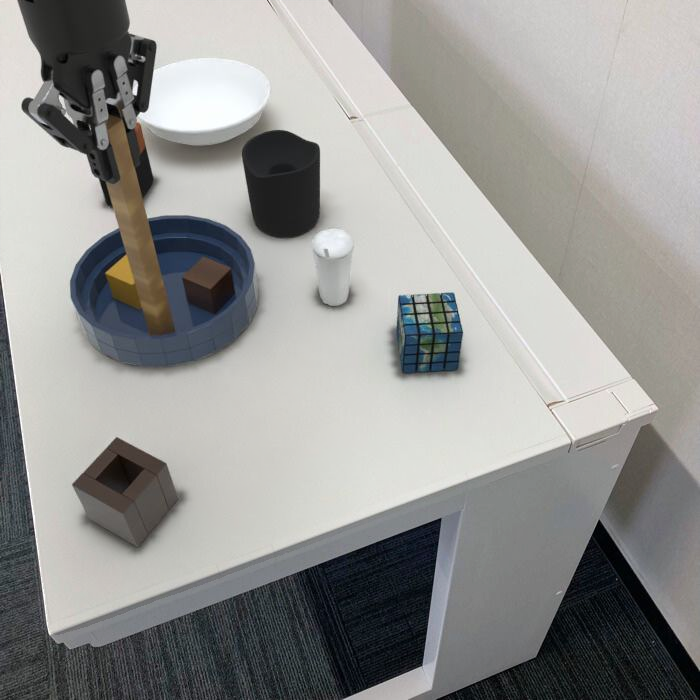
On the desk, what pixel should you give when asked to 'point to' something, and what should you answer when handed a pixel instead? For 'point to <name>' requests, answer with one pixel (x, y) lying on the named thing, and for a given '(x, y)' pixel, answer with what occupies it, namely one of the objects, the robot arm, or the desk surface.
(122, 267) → the block mustard
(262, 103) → the bowl
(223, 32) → the desk surface
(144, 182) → the battery
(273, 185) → the pen holder
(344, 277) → the milkshake
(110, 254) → the mixing bowl
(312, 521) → the desk surface
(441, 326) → the puzzle
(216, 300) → the block walnut
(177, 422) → the desk surface
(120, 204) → the stick
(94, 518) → the holder
